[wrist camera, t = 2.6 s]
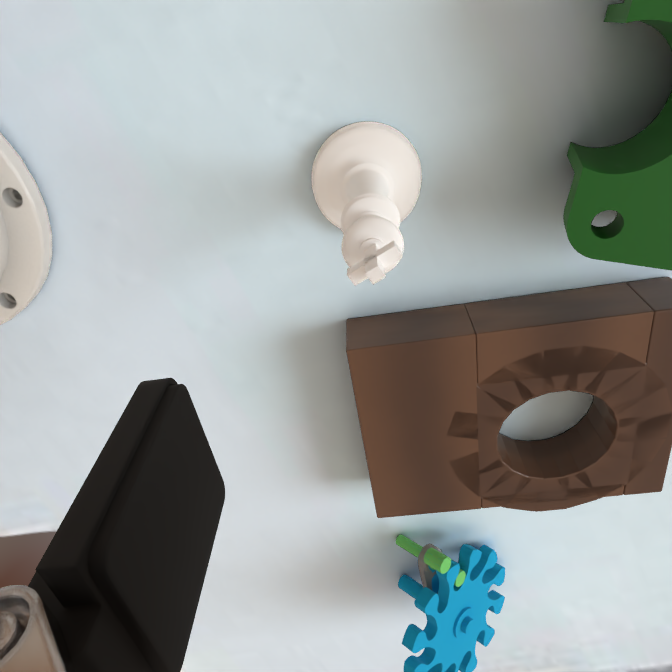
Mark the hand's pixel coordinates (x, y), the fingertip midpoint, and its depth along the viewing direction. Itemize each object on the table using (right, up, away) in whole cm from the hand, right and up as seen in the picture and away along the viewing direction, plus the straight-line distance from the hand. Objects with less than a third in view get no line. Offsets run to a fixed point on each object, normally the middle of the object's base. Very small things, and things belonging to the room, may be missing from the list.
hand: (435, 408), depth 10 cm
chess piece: (-1, +9, +14) cm, 16 cm away
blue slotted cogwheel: (+6, -15, +28) cm, 33 cm away
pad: (+8, -2, +20) cm, 21 cm away
